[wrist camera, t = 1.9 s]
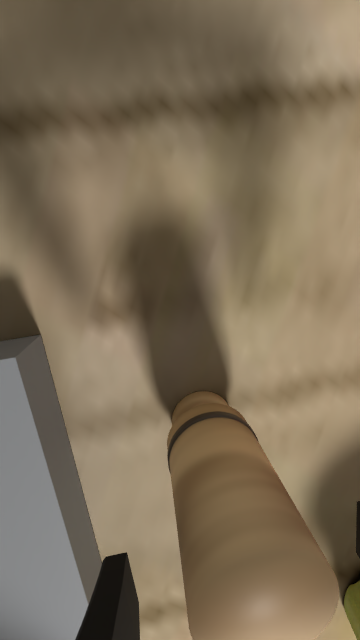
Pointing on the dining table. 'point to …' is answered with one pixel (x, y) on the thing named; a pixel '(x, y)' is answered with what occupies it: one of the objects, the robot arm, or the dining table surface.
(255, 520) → the oak peg
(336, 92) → the dining table surface
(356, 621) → the plant pot
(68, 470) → the grey peg hole board
